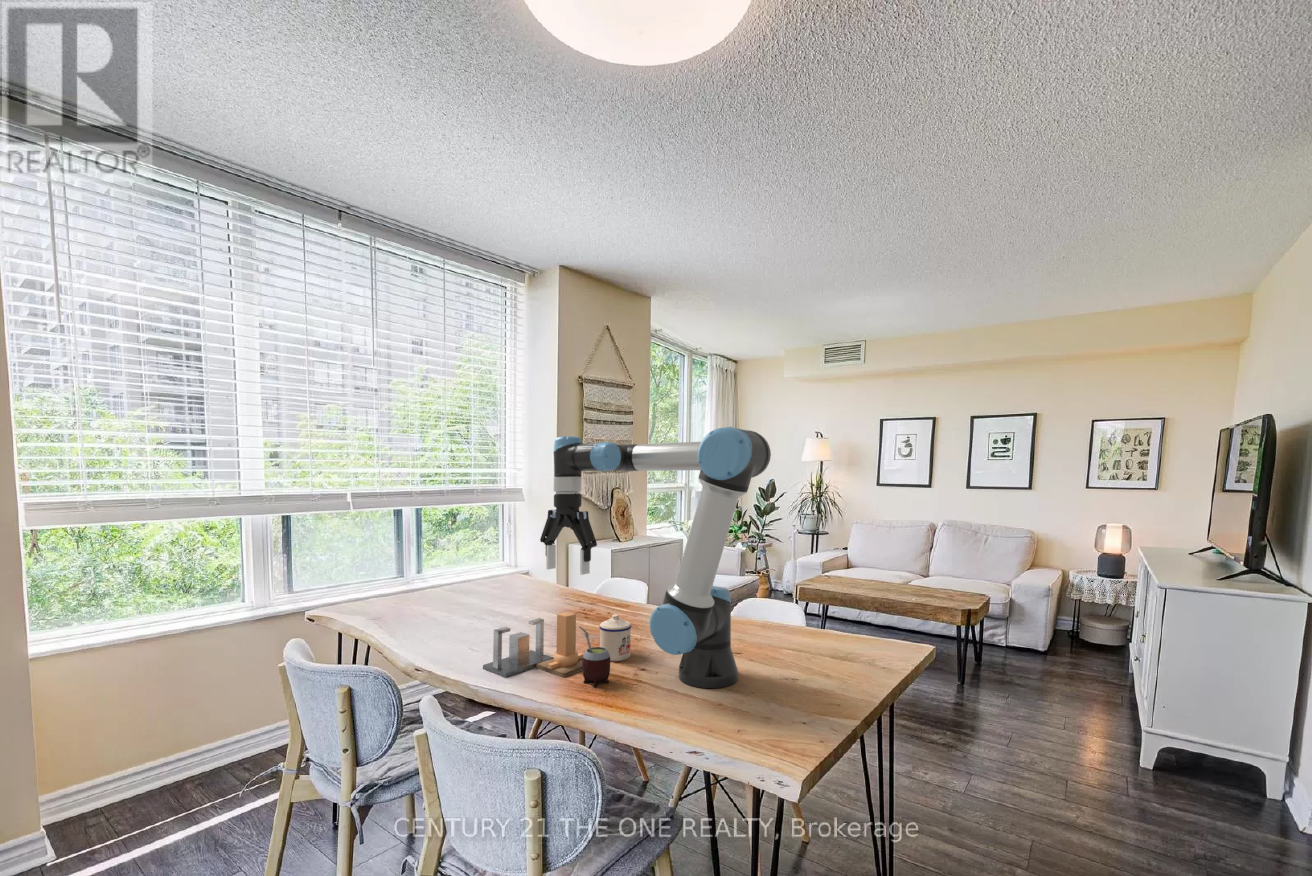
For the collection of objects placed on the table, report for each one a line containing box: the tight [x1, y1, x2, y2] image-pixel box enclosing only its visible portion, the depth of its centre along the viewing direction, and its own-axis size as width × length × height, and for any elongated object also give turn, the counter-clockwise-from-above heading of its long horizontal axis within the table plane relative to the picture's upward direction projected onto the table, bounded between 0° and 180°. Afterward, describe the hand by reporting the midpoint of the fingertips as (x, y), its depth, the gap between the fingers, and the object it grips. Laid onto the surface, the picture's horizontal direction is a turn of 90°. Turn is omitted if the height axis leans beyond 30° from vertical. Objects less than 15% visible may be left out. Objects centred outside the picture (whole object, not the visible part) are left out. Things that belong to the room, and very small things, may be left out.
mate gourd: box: [578, 626, 612, 688], centre depth 139 cm, size 8×8×15 cm
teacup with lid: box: [599, 613, 632, 662], centre depth 160 cm, size 12×9×12 cm
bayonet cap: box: [547, 611, 584, 669], centre depth 151 cm, size 12×6×13 cm, turn 141°
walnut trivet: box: [535, 658, 583, 678], centre depth 150 cm, size 11×11×1 cm
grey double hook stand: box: [482, 617, 554, 678], centre depth 152 cm, size 16×10×11 cm, turn 141°
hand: (567, 571), depth 151 cm, fingers open, 13 cm apart
